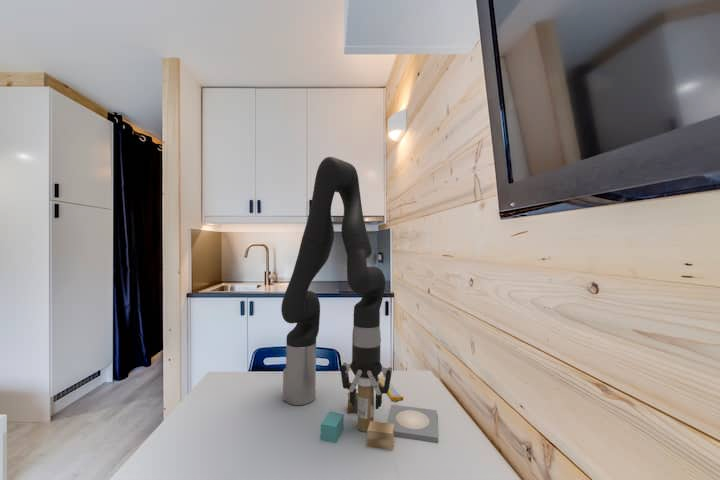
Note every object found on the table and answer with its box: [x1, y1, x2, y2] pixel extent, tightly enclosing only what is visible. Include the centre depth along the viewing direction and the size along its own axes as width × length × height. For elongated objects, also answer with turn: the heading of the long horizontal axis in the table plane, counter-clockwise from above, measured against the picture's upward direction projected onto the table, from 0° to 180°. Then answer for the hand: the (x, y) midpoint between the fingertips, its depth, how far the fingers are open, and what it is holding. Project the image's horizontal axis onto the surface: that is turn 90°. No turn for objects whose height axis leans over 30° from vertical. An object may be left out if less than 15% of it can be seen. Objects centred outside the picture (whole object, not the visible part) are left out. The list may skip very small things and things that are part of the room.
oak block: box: [366, 421, 395, 451], centre depth 74 cm, size 6×4×4 cm, turn 78°
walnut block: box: [347, 392, 358, 414], centre depth 89 cm, size 6×4×4 cm, turn 92°
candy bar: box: [378, 375, 404, 402], centre depth 102 cm, size 17×4×2 cm, turn 15°
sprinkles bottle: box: [356, 377, 375, 433], centre depth 81 cm, size 5×5×14 cm
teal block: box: [320, 411, 345, 444], centre depth 77 cm, size 4×6×4 cm, turn 165°
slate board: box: [386, 403, 439, 444], centre depth 82 cm, size 13×13×1 cm
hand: (365, 405), depth 80 cm, fingers open, 5 cm apart
